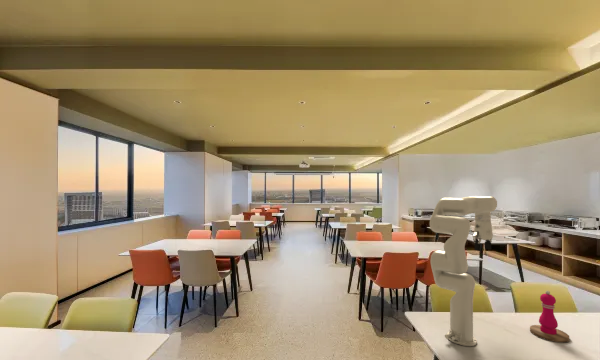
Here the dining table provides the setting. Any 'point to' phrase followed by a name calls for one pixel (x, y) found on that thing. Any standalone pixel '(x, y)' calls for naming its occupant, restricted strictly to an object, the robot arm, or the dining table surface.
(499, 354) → the dining table surface
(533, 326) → the walnut board
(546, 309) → the pepper mill
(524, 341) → the dining table surface
